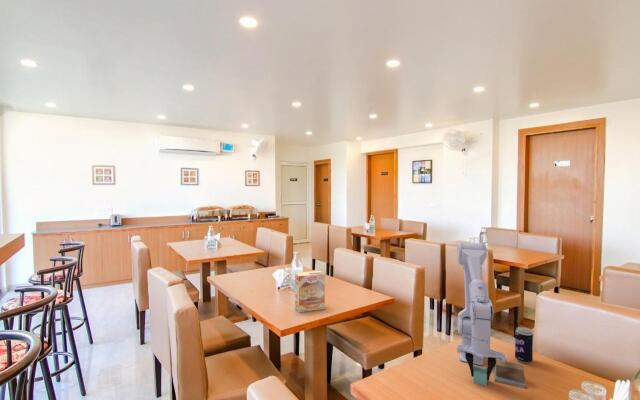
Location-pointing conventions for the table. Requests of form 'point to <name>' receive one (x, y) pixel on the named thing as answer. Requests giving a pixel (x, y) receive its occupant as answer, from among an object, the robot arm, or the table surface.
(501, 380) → the plate
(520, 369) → the walnut brick
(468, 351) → the robot arm
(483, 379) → the cube
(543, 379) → the table surface
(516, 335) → the beverage can
